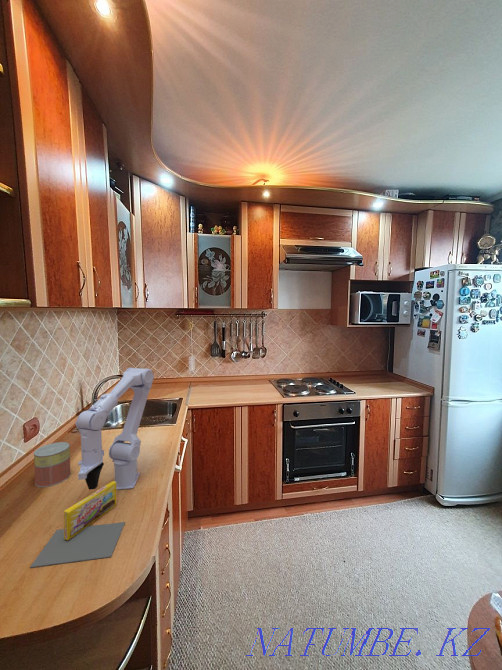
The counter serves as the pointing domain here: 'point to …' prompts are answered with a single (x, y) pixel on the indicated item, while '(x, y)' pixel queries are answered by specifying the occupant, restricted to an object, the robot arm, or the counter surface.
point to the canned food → (52, 464)
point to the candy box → (89, 510)
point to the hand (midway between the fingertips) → (93, 488)
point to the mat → (80, 545)
